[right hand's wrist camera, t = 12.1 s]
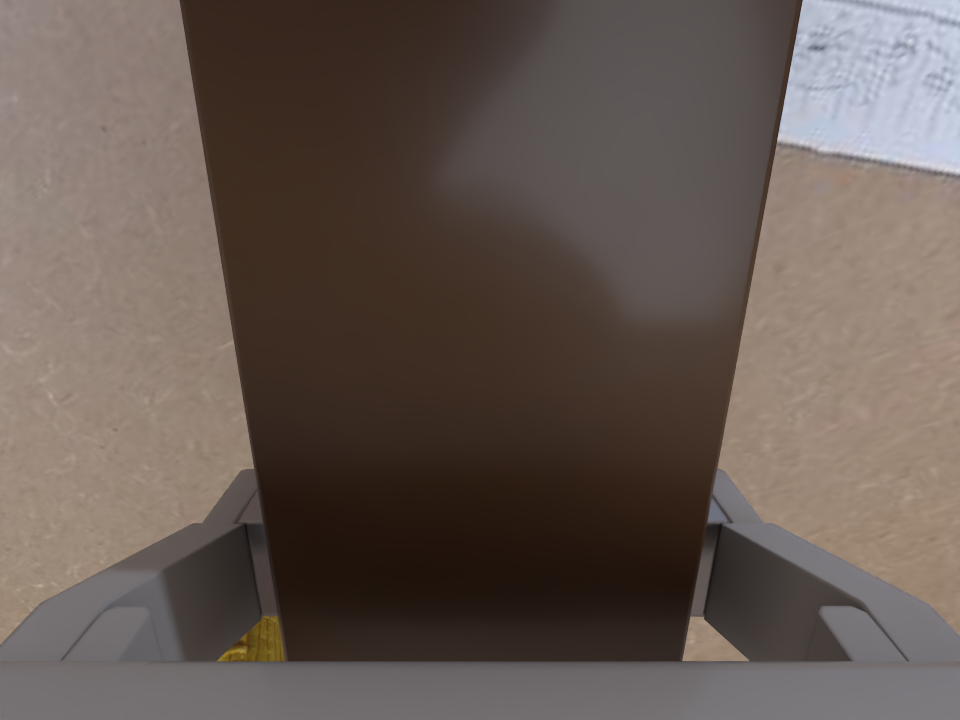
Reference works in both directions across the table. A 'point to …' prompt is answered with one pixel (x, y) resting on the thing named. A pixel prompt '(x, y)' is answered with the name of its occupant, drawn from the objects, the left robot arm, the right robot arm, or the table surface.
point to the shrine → (258, 643)
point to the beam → (487, 306)
